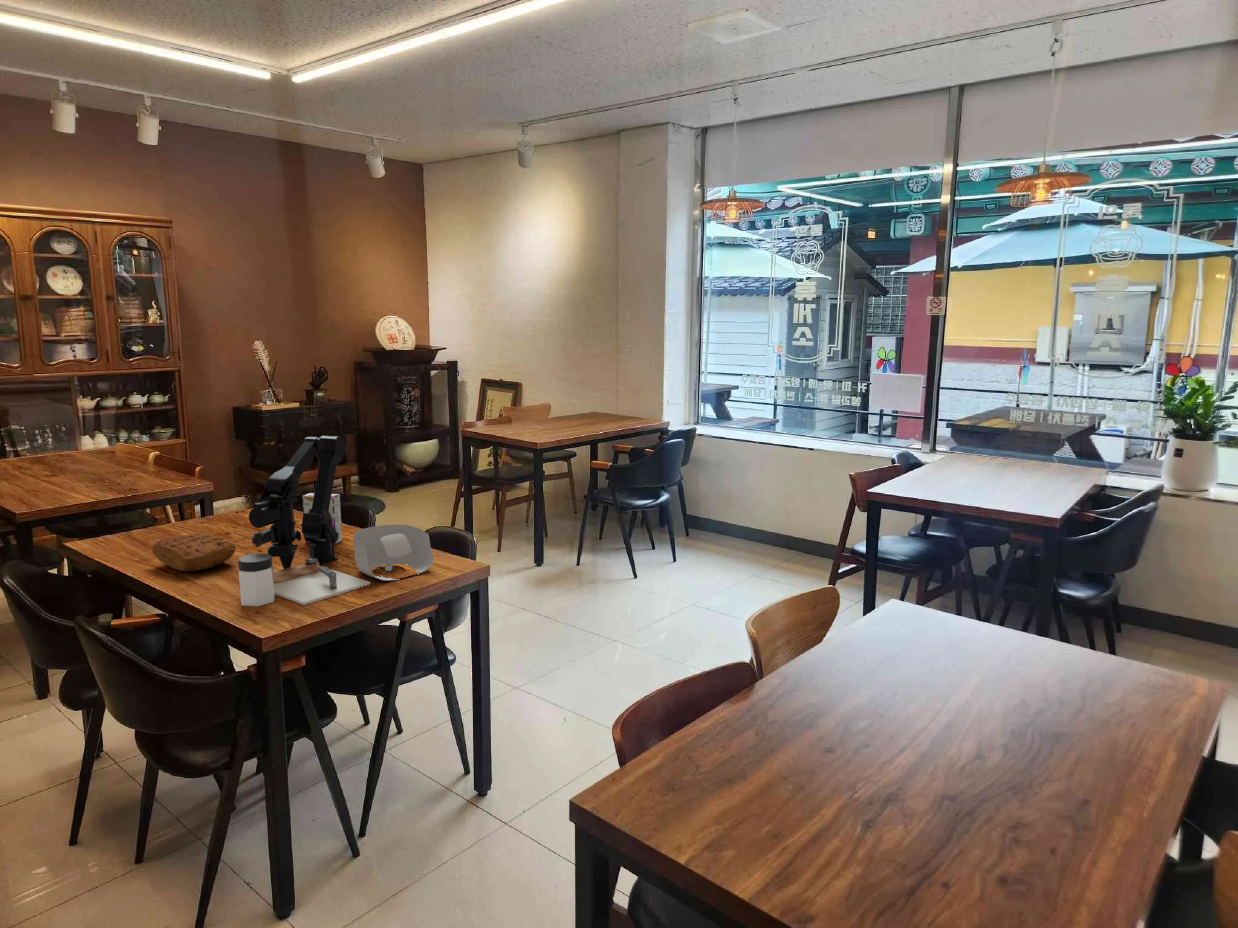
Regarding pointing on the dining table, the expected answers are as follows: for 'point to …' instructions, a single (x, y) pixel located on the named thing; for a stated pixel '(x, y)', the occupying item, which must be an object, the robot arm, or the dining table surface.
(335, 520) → the candy bar box
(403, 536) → the gray curved shell
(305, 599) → the hinge board
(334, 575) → the keeper
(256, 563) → the jar
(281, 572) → the link
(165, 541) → the inscribed clay slab
